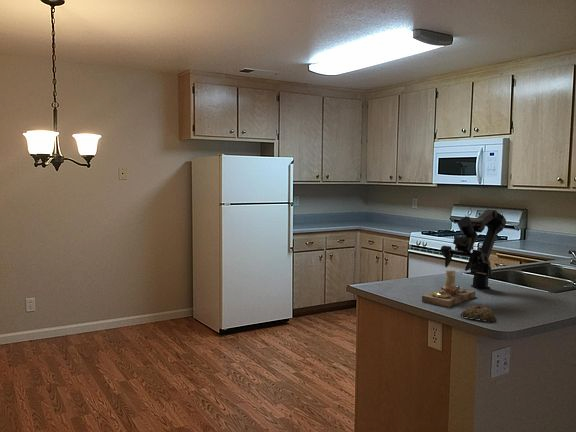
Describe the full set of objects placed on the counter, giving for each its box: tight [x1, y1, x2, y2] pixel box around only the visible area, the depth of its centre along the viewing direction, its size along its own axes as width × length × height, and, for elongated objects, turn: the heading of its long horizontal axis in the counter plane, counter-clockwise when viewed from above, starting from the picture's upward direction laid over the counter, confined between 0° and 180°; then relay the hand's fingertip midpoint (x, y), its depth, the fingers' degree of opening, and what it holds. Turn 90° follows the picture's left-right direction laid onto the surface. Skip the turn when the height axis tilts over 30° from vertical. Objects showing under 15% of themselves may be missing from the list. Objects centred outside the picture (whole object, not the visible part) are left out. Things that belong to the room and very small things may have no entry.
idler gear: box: [440, 269, 459, 296], centre depth 218 cm, size 7×7×12 cm
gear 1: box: [431, 290, 451, 299], centre depth 213 cm, size 8×8×2 cm
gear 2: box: [455, 285, 468, 293], centre depth 224 cm, size 8×8×2 cm
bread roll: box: [460, 304, 496, 322], centre depth 193 cm, size 13×12×5 cm
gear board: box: [421, 289, 476, 308], centre depth 218 cm, size 26×12×2 cm, turn 136°
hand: (455, 268), depth 221 cm, fingers open, 9 cm apart
